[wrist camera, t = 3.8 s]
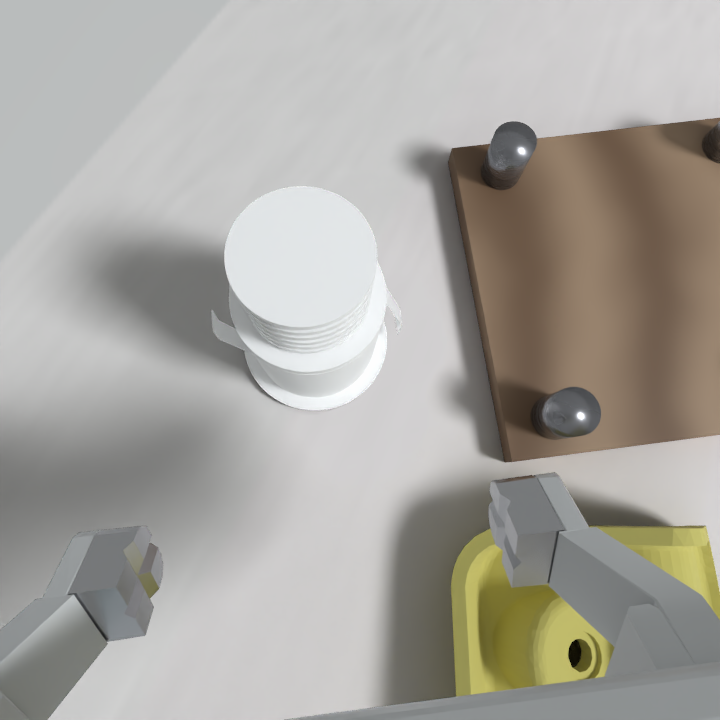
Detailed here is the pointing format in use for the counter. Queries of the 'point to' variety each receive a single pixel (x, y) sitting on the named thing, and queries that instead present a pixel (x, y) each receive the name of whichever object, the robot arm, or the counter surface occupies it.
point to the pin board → (596, 283)
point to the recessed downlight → (306, 297)
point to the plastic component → (551, 611)
